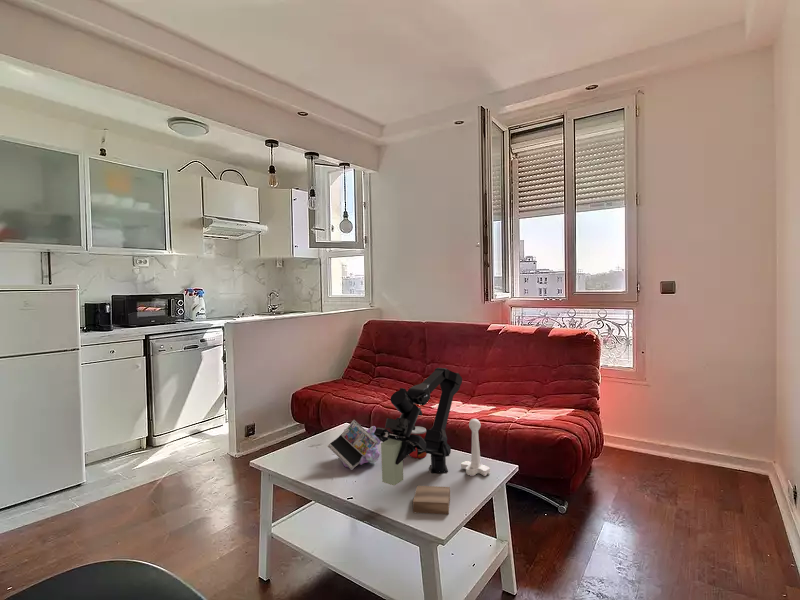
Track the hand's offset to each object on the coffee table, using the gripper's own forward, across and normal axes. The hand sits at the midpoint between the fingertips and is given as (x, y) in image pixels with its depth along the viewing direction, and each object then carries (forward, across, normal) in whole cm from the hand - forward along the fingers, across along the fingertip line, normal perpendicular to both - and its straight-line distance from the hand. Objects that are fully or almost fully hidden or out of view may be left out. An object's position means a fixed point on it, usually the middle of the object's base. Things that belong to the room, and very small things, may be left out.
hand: (389, 462), depth 140 cm
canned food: (-18, -15, +37) cm, 44 cm away
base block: (+5, +12, +14) cm, 19 cm away
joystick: (-15, +13, +35) cm, 40 cm away
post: (+4, 0, +6) cm, 7 cm away
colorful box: (-4, -32, +24) cm, 40 cm away
